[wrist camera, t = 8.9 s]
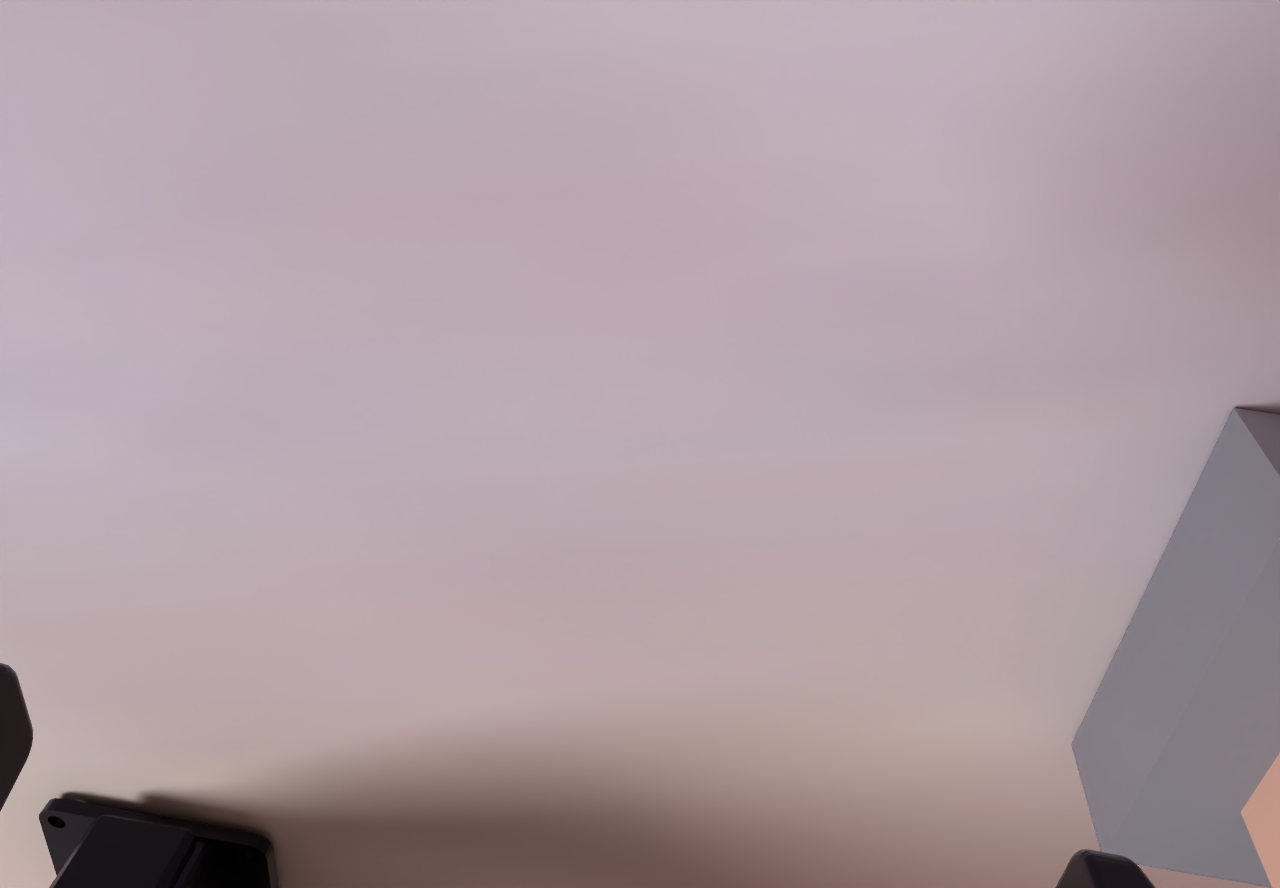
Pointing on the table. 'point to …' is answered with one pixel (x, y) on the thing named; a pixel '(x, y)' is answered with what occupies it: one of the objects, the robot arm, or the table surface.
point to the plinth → (1197, 677)
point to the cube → (1266, 821)
